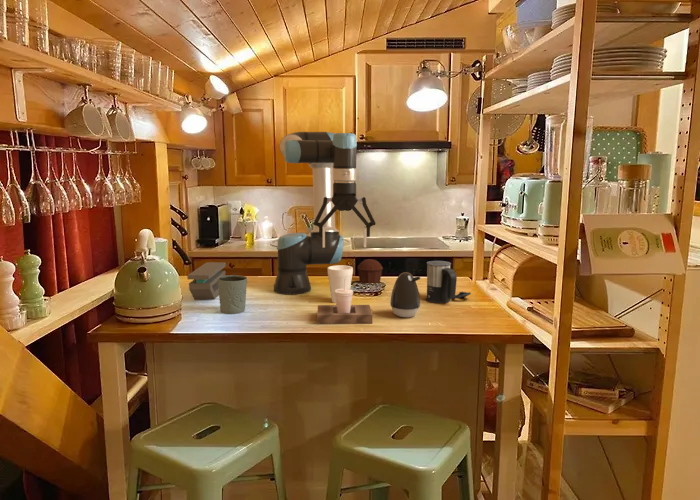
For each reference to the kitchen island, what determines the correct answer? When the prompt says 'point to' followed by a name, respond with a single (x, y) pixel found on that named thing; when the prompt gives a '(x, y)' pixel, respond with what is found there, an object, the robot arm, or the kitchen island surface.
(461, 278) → the kitchen island surface
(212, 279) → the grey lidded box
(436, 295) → the milk frother
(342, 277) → the foam cup
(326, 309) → the bottle holder
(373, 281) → the muffin
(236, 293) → the embossed green cup
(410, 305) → the pump dispenser
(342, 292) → the smoothie
